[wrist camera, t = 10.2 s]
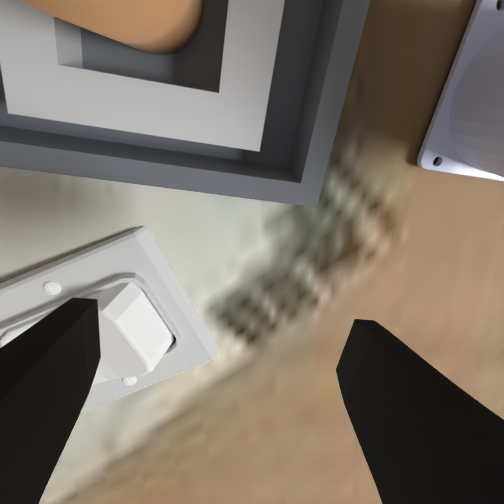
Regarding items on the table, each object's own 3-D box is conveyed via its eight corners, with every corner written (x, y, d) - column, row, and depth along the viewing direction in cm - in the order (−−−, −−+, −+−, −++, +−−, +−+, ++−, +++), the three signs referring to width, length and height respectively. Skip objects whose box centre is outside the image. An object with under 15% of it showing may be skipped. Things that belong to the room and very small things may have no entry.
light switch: (226, 383, 21) (46, 455, 21) (222, 340, 25) (69, 402, 25) (138, 243, 16) (-93, 341, 17) (149, 215, 20) (-39, 296, 20)
